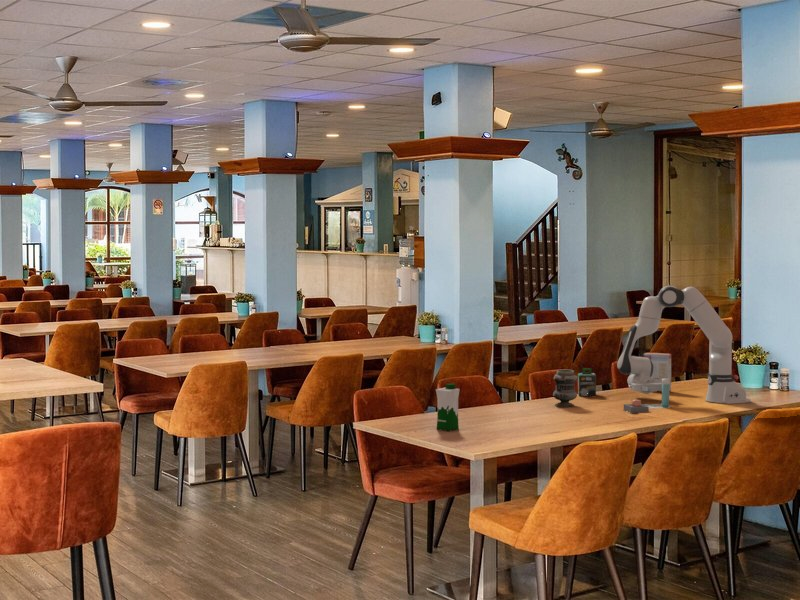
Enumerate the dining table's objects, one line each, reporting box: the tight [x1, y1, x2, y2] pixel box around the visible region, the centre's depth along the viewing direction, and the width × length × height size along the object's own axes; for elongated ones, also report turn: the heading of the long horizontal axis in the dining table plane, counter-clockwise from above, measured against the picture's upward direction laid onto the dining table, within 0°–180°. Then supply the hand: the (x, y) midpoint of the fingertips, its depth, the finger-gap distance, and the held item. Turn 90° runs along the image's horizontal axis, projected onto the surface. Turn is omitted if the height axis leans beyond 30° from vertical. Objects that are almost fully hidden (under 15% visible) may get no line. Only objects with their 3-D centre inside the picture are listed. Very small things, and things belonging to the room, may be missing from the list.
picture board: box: [643, 403, 672, 410], centre depth 504 cm, size 18×14×1 cm
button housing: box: [623, 403, 650, 414], centre depth 492 cm, size 9×9×3 cm
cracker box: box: [643, 352, 672, 393], centre depth 556 cm, size 14×6×21 cm, turn 59°
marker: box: [661, 379, 670, 409], centre depth 501 cm, size 4×4×14 cm
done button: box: [630, 399, 642, 407], centre depth 492 cm, size 4×4×4 cm
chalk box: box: [577, 367, 597, 397], centre depth 543 cm, size 9×9×15 cm
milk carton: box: [435, 382, 460, 432], centre depth 448 cm, size 9×9×20 cm
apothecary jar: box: [552, 368, 578, 408], centre depth 509 cm, size 12×12×18 cm
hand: (657, 388), depth 510 cm, fingers open, 8 cm apart
